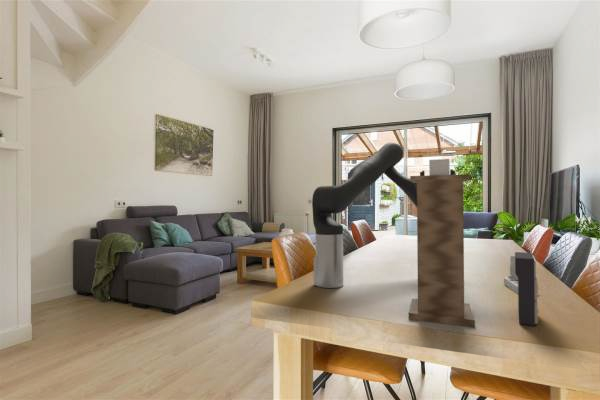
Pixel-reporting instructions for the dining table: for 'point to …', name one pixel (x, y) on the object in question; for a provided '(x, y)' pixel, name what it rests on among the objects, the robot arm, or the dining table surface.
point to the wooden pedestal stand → (440, 251)
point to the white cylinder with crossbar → (439, 167)
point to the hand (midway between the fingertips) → (437, 172)
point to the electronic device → (512, 276)
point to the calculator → (527, 288)
